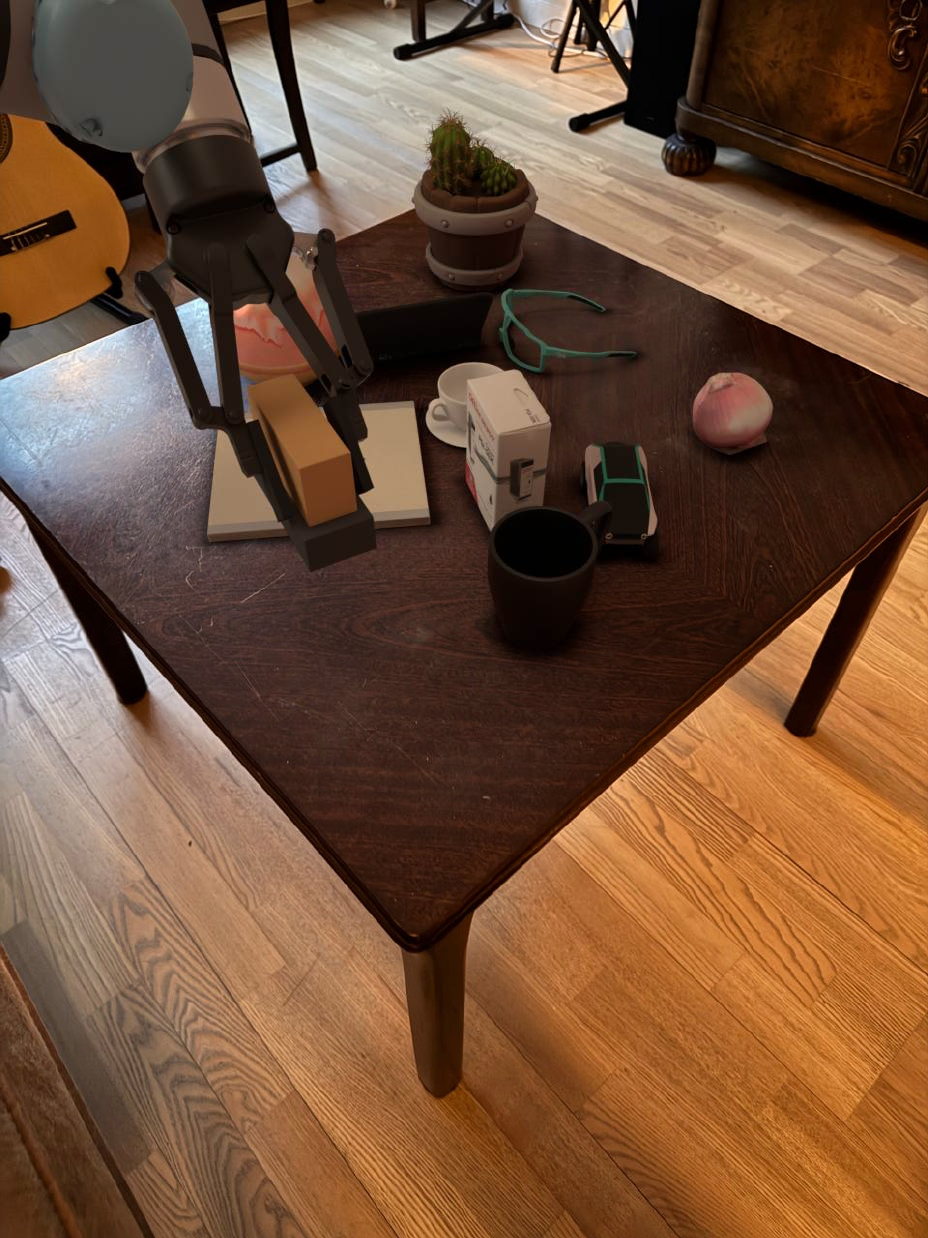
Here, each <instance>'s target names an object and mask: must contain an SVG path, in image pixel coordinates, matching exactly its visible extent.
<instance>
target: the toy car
mask: <svg viewBox="0 0 928 1238" xmlns="http://www.w3.org/2000/svg"><path fill="white" fill-rule="evenodd" d="M579 473H580V474H579V483H580V484H579V485H580V490H581V491H584V492H587V501H588V506H589V505H590V504H592V503H594V502H595V501H598V500H604V501H606V502H608V503H609V504H610V505H611V506H612V509H613V518H612V522H611V525H610V527H609V530H608V532H607V534H606V537H605V539H604V541H603V543H602V545H601V547H600V549H599V551H598V554H597V557H600V556H601V553H602V549H603V546H604V545H608V544H614V545H639V546H641V554H642V556H643V557H644V558H655V557H656V556H657V554H658V551H659V542H660V539H659V537H660V536H659V529H658V527H657V524H658V517H657V513H656V511H655V508H654V502H653V498H652V491H651V488H650V483H649V477H648V463H647V458H646V454H645V452H644V450H643V447H642V446H641V445H640V444H628V443H625V442H623V441H618V440H615V441H612V440H611V441H607V442H605V443H602V444H601V443H592V444H589V445H588V446H587V447H586V448H585V452H584V460H583V461H581V464H580V471H579ZM593 524H594V522H593V523H592V524H591V525H590V527H591V529H592V527H593Z"/></svg>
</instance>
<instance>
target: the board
mask: <svg viewBox="0 0 928 1238" xmlns="http://www.w3.org/2000/svg"><path fill="white" fill-rule="evenodd" d="M359 406H360V409H361V412H362V415H363V418H364V420H365V423H366V426H367V429H368V438H366V439H365V440H364V441H362V442H359V443H358V444H359V447H360V449H361V452H362V455H363V458H364V460H365V463H366V466H367V469H368V471H369V474H370V477H371V480H372V482H373V485H374V488H373V489H372V490H370V491H368V492H366V493H364V494H361V495H359V496H360V498H361V499H362V501H363V502H364V503H365V505H366V506H367V508H368V509H369V511H370V512H371V514H372V515H373V516H374V524H375V530H376V529H388V528H401V527H402V528H403V527H413V526H427V525H431V515H430V508H429V501H428V494H427V485H426V479H425V473H424V466H423V459H422V451H421V444H420V443H421V442H420V438H419V430H418V423H417V416H416V408H415V402H414V400H407V401H405V400H404V401H392V402H391V401H390V402H389V401H388V402H376V403H361V404H360V403H359ZM317 407H318V408H319V410H320V411H321V412H322V414H323V415H324V417H325V418H326V415H325V412H324V410H323V406H317ZM244 414H245V416H244V418H245V420H246V423H247V422H250V421H253V417H252V413H251V411H244ZM326 419H327V418H326ZM216 435H217V436H216V445H215V454H214V463H213V464H214V465H213V472H212V473H213V475H212V484H211V491H210V492H211V493H210V501H209V502H210V503H209V511H208V512H209V513H208V521H207V531H206V535H207V539H208V542H209V543H213V542H226V541H238V540H252V539H265V538H279V537H289V535H288V533H287V532H286V530H285V528H284V527H283V525H282V523H281V522H279V523H278V521H277V518H276V516H275V513H274V510H273V508H272V506H271V505H270V503H269V501H268V500H267V498H266V496H265V494H264V493H263V491H262V489H261V488H260V486H259V484H258V483H257V481H256V479H255V477H254V476H253V477H250V478H247V477H246V476H245V475H244V474H243V473H242V471H241V468H240V466H239V463H238V460H237V457H236V455H235V453H234V450H233V447H232V445H231V442H230V440H229V437H228V435H227V434H226V433H225V432H223V431H221V430H217V434H216Z"/></svg>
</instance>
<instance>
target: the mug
mask: <svg viewBox="0 0 928 1238" xmlns="http://www.w3.org/2000/svg"><path fill="white" fill-rule="evenodd" d="M612 518H613V509H612V506H611V505H610V504H609V503H608V502H606V501H604V500H598V501H595V502H594V503H592V504H590V505H589V504H588V505H587V506H586V507H585V508H583V509H582V510H581V511H580V512H578V513H577V514H575V513H573V512H571V511H568V510H566V509H563V508H560V507H555V506H549V505H543V506H531V507H524V508H521V509H517V510H514V511H512V512H510V513H508V514H506V515H505V516H503V517H502V518H501V519H500V520H498V521H497V523H496V524H495V525H494V527H493V528H492V530H491V531H490V533H489V536H488V548H487V580H488V588H489V592H490V595H491V600H492V603H493V606H494V610H495V613H496V615H497V618H498V620H499V623H500V625H501V629H502V632H503V633H504V635H505V637H506V638H507V639H508V640H509V641H510V642H511V643H513V644H514V645H516V646H518V647H520V648H523V649H526V650H531V651H541V650H548V649H551V648H554V647H555V646H557V645H559V644H560V643H561V642H563V640H565V638H566V636H567V635H568V633H569V631H570V629H571V628H572V626H573V625H574V623H575V622H576V620H577V619H578V617H579V615H580V613H581V612H582V610H583V608H584V606H585V603H586V601H587V599H588V597H589V594H590V591H591V588H592V584H593V581H594V576H595V571H596V567H597V566H596V565H597V560H598V556H597V554H598V551H599V549H600V547H601V545H602V543H603V541H604V539H605V537H606V534H607V532H608V530H609V527H610V525H611V522H612ZM593 522H594V524H593V527H592V529H591V527H590V525H592V523H593ZM602 546H603V545H602Z"/></svg>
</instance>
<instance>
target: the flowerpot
mask: <svg viewBox="0 0 928 1238" xmlns="http://www.w3.org/2000/svg"><path fill="white" fill-rule="evenodd" d="M446 109H447V111H448V114H447V113H446V111H445V110H443V109H442V112H443V113H444V114H445V116H443V115H442V114H441V113H439V115H440V116H437V119H436V120H435V121H436V122H437V121H438V122H437V124H435V126H437V127H435V128H434V127H433V126H434V124H432V125H431V128H428V129H427V132H428V133H427V135H426V136H428V135H431V136H430V137H429V139H428V140H429V141H427V138H424V139H425V144H421V145H422V146H424V147H425V148H427V149H426V150H424V153H425V155H427V154H431V155H430V156H429V157H428V156H425V158H426V159H425V160H426V162H425V164H424V165H425V166H424V167H426V166H427V165H428V166H427V167H426V170H425V171H423V174H422V177H421V179H420V180H419V181H418V182H417V184H416V185H415V186H414V190H413V196H412V198H411V200H410V201H411V203H412V204H413V206H414V210H415V213H416V215H417V216H418V218H419V219H420V221H422V222H423V223H424V224H425V227H426V231H427V234H428V239H429V243H428V244H427V245H426V248H425V256H424V259H425V260H426V261H427V263H428V264H427V265H428V266H429V268H430V270H431V271H432V272H433V274H434V275H435V276H437V277H438V279H439V280H440V281H441V283H442V284H443V285H445V286H446V287H448V288H451V289H453V290H457V291H462V292H475V291H476V293H482V292H489V291H494V290H495V289H496V287H500V288H501V287H503V286H504V285H505V284H507V282H508V280H511V279H512V277H513V275H515V274H516V272H517V271H518V270H519V267H520V265H521V261H522V260H523V258H524V253H523V252H524V251H523V248H522V245H521V244H522V241H523V238H524V237H523V236H524V233H525V229H526V224H527V223H528V222H530V220H531V219H532V218H533V217H534V216H535V213H536V209H537V205H538V203H537V202H538V201H539V196H538V195H537V193H536V189H535V186H534V185H533V184H532V182H531V181H530V180H529V179H528V178H527V176H526V174H525V172H524V171H523V170H522V169H521V168H516V163H515V162H513V161H517V158H516V159H512V160H511V161H510V159H511V158H509V159H508V161H506V160H505V159H504V158H506V157H507V156H509V154H507V155H504V156H503V157H501V156H496V155H495V153H494V152H495V150H496V149H497V147H495V148H494V150H492V149H493V147H492V146H490V147H487V146H484V145H486V144H488V145H490V143H489V142H487V140H488V139H489V138H485V139H484V140H482V139H480V138H481V135H479V137H473V136H474V135H475V134H476V132H475V133H474V132H471V130H472V128H471V126H470V127H469V126H467V127H466V126H465V125H468V122H467V121H466V120H465V121H464V120H463V119H464V117H463V115H461V116H459V115H458V116H457V114H458V113H459V112H460V110H458V111H457V112H456V113H455V111H453V116H452V114H451V111H450V109H449V108H448V107H446ZM463 121H464V122H463ZM467 128H468V129H469V131H467ZM465 129H466V130H465ZM481 141H483V142H481ZM480 142H481V143H480ZM490 148H491V149H490ZM512 162H513V165H514V166H513V165H512V164H511V163H512Z"/></svg>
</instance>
